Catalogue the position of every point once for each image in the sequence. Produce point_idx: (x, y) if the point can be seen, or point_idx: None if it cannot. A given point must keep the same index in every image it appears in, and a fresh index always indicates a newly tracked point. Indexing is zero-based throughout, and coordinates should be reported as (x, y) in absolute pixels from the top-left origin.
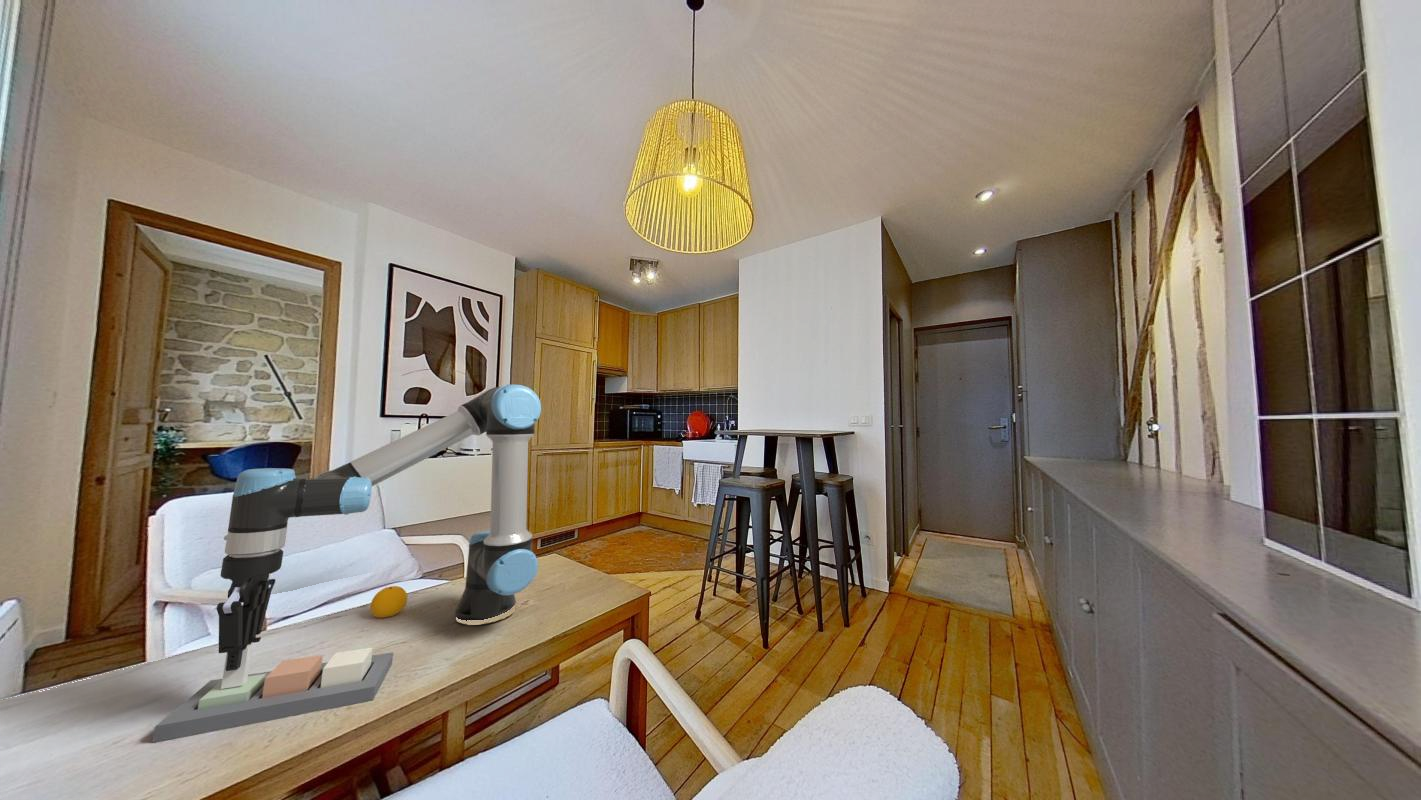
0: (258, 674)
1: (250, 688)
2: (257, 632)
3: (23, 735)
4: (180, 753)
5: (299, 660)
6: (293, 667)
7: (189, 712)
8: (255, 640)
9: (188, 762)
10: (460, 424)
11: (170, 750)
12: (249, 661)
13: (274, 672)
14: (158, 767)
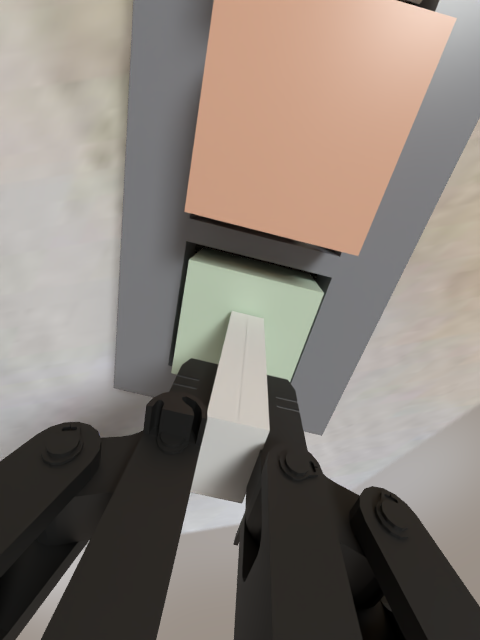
0: (130, 283)
1: (298, 290)
2: (94, 458)
3: None
4: (410, 358)
5: (235, 115)
6: (318, 136)
7: (296, 394)
8: (202, 426)
9: (472, 338)
10: None
11: (377, 376)
12: (229, 351)
13: (320, 225)
14: (438, 379)
